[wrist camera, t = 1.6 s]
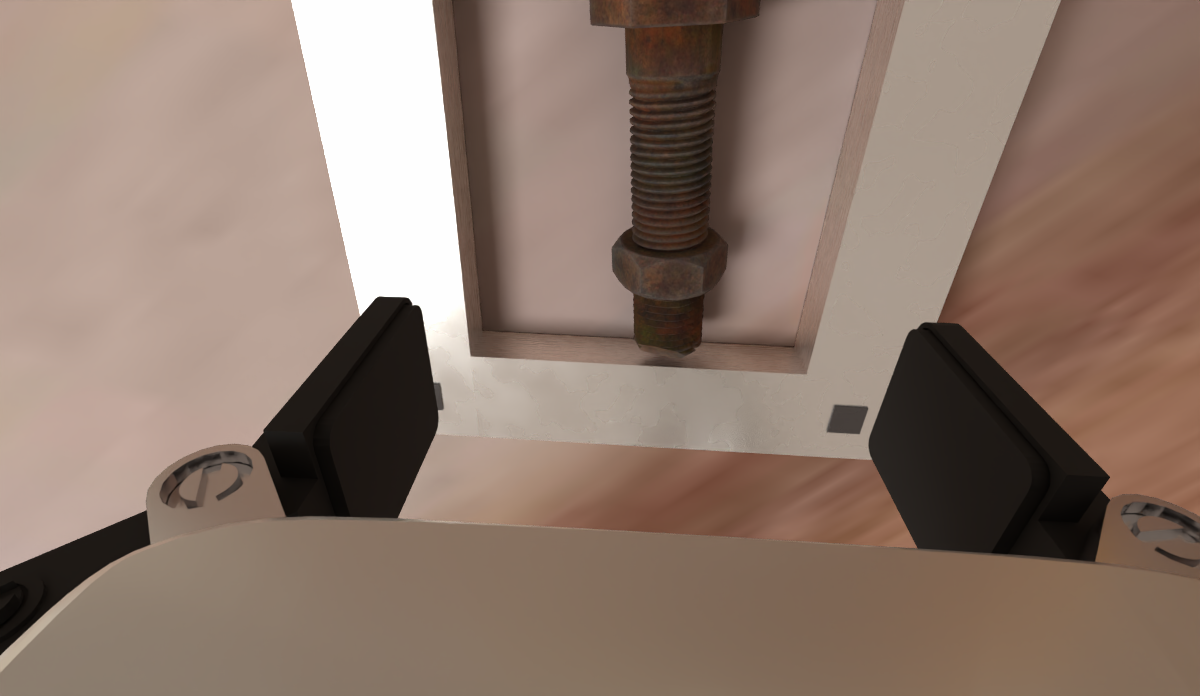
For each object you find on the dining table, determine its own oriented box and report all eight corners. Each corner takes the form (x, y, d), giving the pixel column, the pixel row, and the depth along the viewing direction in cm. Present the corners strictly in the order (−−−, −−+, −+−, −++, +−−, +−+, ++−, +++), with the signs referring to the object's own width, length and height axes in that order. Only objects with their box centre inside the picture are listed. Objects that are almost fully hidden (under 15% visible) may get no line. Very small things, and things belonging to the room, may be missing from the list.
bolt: (650, 306, 30) (650, -30, 22) (740, 330, 28) (778, -38, 20) (590, 360, 26) (562, -27, 18) (688, 393, 24) (709, -37, 16)
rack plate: (866, 429, 31) (884, 461, 29) (402, 402, 32) (385, 432, 30) (1094, -219, 18) (1160, -251, 15) (280, -234, 18) (231, -267, 16)
